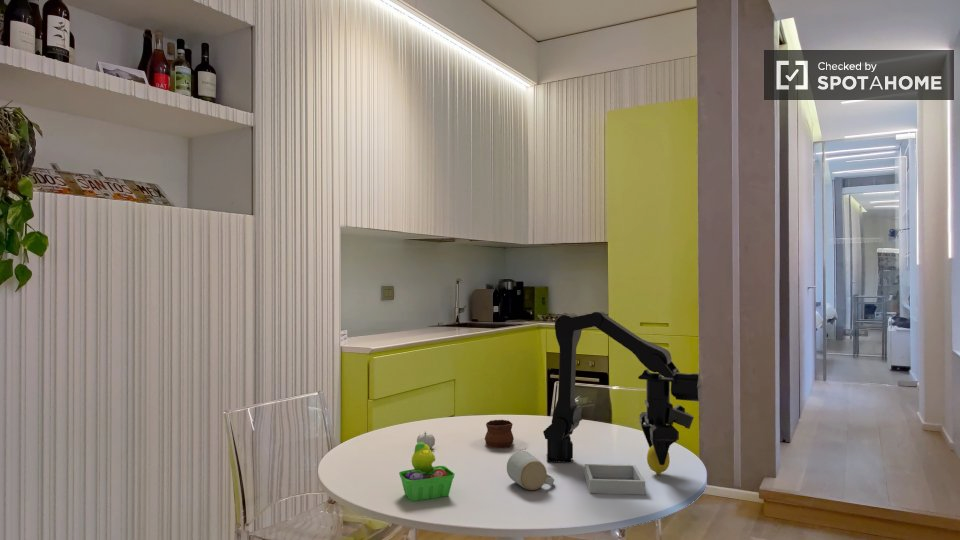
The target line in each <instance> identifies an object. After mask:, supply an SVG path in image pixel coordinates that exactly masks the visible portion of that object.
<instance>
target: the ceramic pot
mask: <svg viewBox="0 0 960 540" xmlns="http://www.w3.org/2000/svg"><path fill="white" fill-rule="evenodd" d="M485 427H486V433H485V435H484V436H485V437H484V441H485V446H486V447H488V448H492V449H507V448H510V447H512V445H513V444H514V439H515V438H514V435H513V431H512V428H513V423H512V422H511V421H510V420H506V419H494V420H493V419H492V420H489V421H487V422H486V423H485ZM521 450H523V451H525V449H524V448H523V449H519V451H521ZM515 452H517V451H515ZM515 452H514V453H515Z"/></svg>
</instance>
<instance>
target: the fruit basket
mask: <svg viewBox="0 0 960 540" xmlns="http://www.w3.org/2000/svg"><path fill="white" fill-rule="evenodd" d="M435 461H436V457H435V454H434V452H433V451H432V450H431V448H429V446H428V445H426V444H425V443H423V442H421V443H417V442H416V444H415V446H414V452H413V454H412V455H411V465H412V467H413V468H412V469H408V470H407V469H406V470H401V471H399V472H398V474H399V477H400V480H401V483H402V487H403V491H404V494H405V496H406V497H407V499H409V500H410V501H411V502H416V501H421V500H428V499H437V498H440V497H448V496H449V495H450V491H451V488H452V485H453V479H454V477H455V473H454V472H453V471H452V470H451V469H449V468H448V467H447V466H445V465H436V466H433V463H434V462H435Z"/></svg>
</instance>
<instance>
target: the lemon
mask: <svg viewBox="0 0 960 540" xmlns="http://www.w3.org/2000/svg"><path fill="white" fill-rule="evenodd" d="M646 461H647V462H646V463H647V465H648V467H649V469H650V470H651V471H653V472H654V473H655V474H656V475H661V474H662V473H663V472H664V473H665V471H667V469H668V468H669V466H670V461H671V460H670V453H669V452H668V453H667V457H666V460H665V464H664V465H660V464H659V461H658V459H657V456H656V453H655V450H654V447H653V445H652V446H651V447H650V448H649V447H648V450H647V454H646Z"/></svg>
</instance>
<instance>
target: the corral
mask: <svg viewBox="0 0 960 540" xmlns="http://www.w3.org/2000/svg"><path fill="white" fill-rule="evenodd" d="M584 478H585V481H586V485H587V488H588V491H589V494H607V495H608V494H610V495H644V496H645V495H646V480H645V479H644V477H643V476H642V474H641V472H640V470H639V468H638V467H637V465H636V464H610V463H609V464H604V463H603V464H599V463H584ZM598 478H599V479H598ZM602 478H603V479H602ZM616 478H617V479H616Z"/></svg>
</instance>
